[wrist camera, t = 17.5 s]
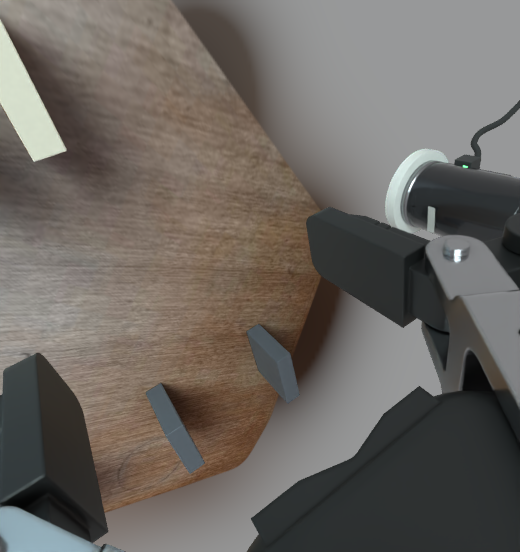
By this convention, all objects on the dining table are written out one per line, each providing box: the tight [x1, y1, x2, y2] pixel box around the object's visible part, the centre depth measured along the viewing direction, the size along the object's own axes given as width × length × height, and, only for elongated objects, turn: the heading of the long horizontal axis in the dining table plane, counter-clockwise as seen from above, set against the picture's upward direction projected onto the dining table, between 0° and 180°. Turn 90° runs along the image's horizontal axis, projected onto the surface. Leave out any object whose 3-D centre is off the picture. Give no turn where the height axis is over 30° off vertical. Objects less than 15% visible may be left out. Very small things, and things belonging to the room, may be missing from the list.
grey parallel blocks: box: [146, 324, 299, 473], centre depth 45 cm, size 16×8×7 cm, turn 103°
